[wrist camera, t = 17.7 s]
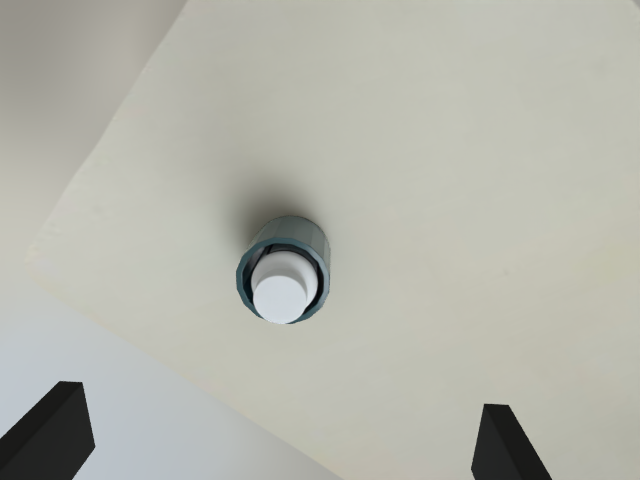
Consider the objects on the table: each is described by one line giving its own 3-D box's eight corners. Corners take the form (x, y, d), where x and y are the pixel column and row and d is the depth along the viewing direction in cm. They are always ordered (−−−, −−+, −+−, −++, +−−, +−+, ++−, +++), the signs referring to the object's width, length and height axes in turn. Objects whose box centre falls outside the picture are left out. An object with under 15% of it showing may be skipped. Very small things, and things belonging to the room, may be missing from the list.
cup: (252, 214, 37) (234, 235, 30) (331, 217, 37) (331, 239, 30) (254, 286, 39) (237, 321, 32) (328, 289, 39) (327, 325, 32)
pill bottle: (294, 290, 39) (282, 345, 29) (253, 255, 38) (227, 301, 28) (331, 254, 37) (331, 299, 28) (290, 217, 36) (276, 251, 27)
